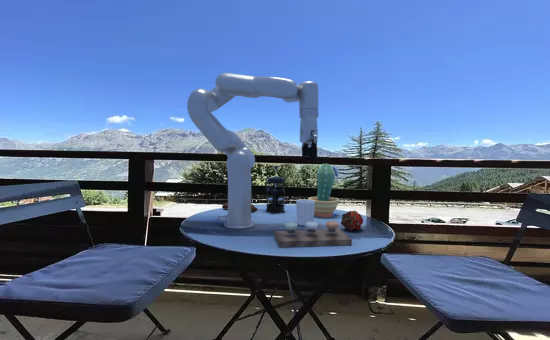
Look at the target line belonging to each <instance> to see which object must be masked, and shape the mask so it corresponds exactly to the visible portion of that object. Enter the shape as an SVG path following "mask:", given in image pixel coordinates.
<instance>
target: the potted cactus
mask: <svg viewBox="0 0 550 340" xmlns="http://www.w3.org/2000/svg"><path fill="white" fill-rule="evenodd" d="M338 177H339V170H338V168H336V167H335V166H334V165H333V166H332V164H330V163H329V164H328V163H322V164H321V165H320V166H319V168H318V169H317V172H316V178H317V179H316V182H317V194H316V196H310V197H308V198H307V200H313V201H315V208H314V217H318V218H332V217H333V213H334V212H335V211H336V209H337V207H338V205H339V204H340V202H341V199H339V198H338V197H333V196H331V193H332V190H333V189H332V187H333V186H334V184H335V179H339V178H338Z"/></svg>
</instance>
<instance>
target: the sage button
mask: <svg viewBox="0 0 550 340" xmlns="http://www.w3.org/2000/svg"><path fill="white" fill-rule="evenodd" d="M284 229H285V230H286V231H287V232H288V233H294V232H295V231H296V230H298V224H297V222H293V221H288V222H285V223H284Z"/></svg>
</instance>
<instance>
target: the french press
mask: <svg viewBox="0 0 550 340" xmlns="http://www.w3.org/2000/svg"><path fill="white" fill-rule="evenodd" d="M271 168H274V170H275V171H277V170H278V168H281V166H278V165H273V166H271ZM266 179H267V183H268V184H275V186H268V187H266V200H267V202H270V203H266V210H265V212H266V213H269V214H283V213H285V203H279V202H284V201H285V198H284V197H283V198H282V197H279V193H280V192H283V194H285V187H283V186H277V185H278V184H283V183H285V182H284V181H285V177H280V176H273V177H267V178H266ZM268 192H270V193H272V195H271V197H268ZM271 202H272V203H271Z"/></svg>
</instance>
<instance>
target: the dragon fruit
mask: <svg viewBox="0 0 550 340" xmlns="http://www.w3.org/2000/svg"><path fill="white" fill-rule="evenodd" d="M363 223H364V218H363V217H362V215H361V214H360V213H359V212H358V211H356V210H349V211H347V212H346V213H343V214H342V215H341V221H340V225H342V226H343V227H344V228H345V229H346V230H348V231H350V232H353V231H354V230H356V231H358V230H359V231H360V230H361V228H362V225H363Z"/></svg>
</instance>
